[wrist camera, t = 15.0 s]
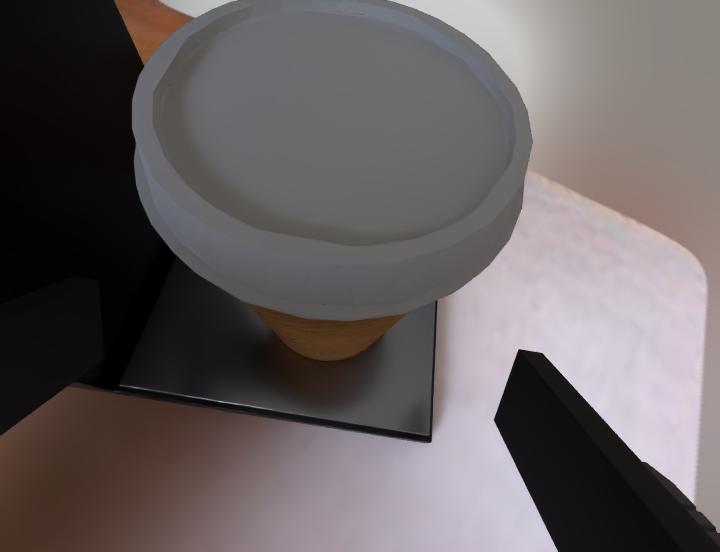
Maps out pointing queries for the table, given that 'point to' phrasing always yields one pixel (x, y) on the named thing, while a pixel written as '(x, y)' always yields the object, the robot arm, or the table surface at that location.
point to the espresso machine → (278, 365)
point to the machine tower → (74, 167)
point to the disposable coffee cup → (329, 161)
